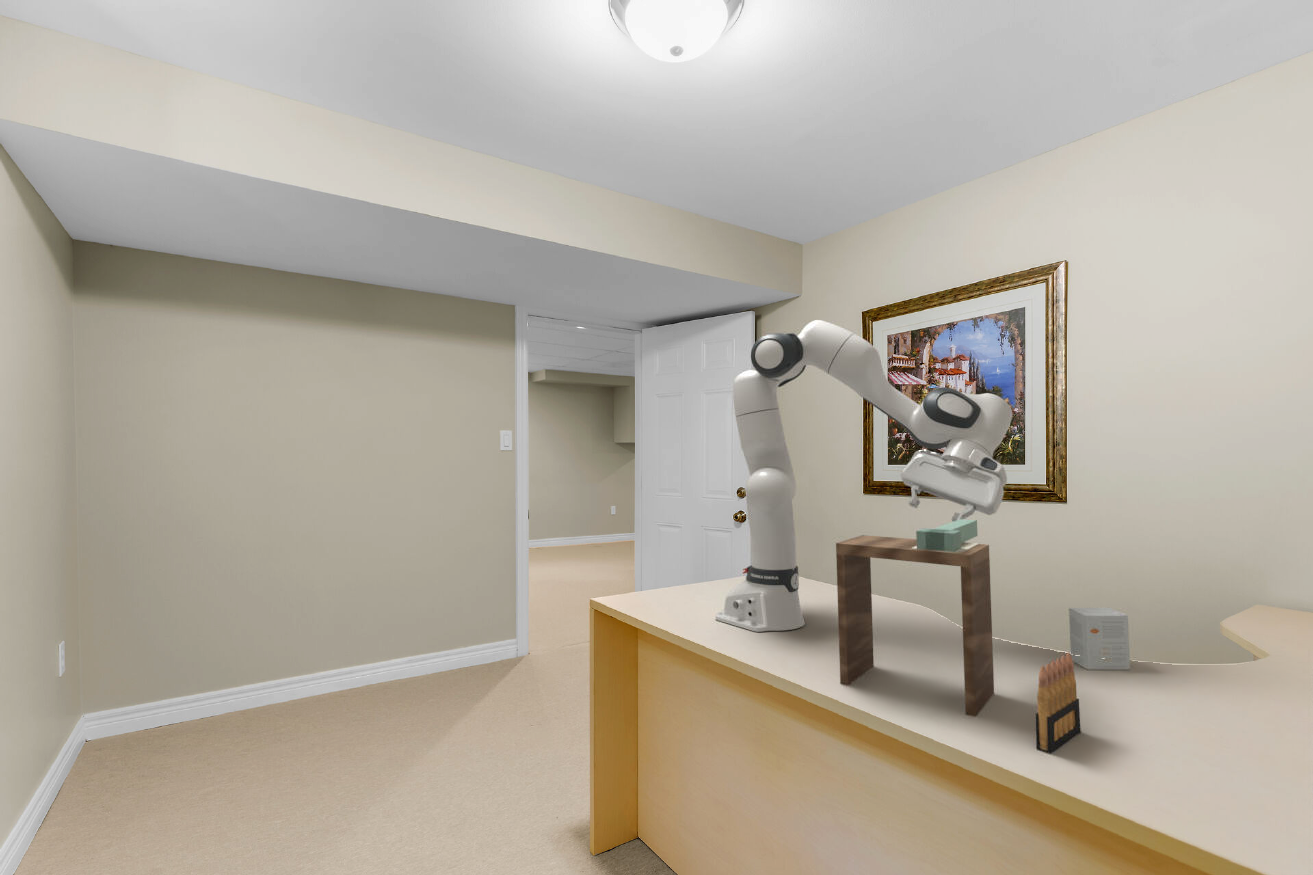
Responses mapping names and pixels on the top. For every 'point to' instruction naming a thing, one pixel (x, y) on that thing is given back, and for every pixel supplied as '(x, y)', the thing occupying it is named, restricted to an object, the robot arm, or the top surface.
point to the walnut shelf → (859, 607)
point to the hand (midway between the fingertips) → (933, 514)
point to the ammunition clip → (1057, 705)
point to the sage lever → (947, 535)
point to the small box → (1099, 638)
